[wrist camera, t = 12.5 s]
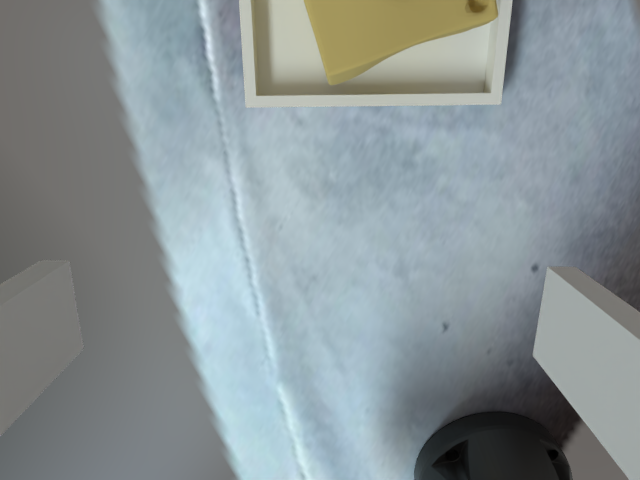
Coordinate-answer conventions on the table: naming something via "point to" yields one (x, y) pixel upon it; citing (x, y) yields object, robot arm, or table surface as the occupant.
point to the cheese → (386, 29)
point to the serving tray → (379, 81)
